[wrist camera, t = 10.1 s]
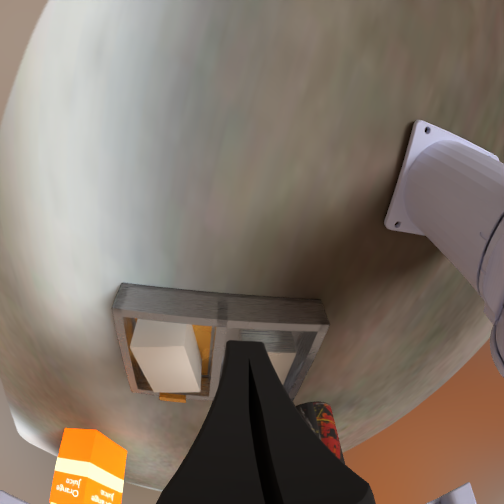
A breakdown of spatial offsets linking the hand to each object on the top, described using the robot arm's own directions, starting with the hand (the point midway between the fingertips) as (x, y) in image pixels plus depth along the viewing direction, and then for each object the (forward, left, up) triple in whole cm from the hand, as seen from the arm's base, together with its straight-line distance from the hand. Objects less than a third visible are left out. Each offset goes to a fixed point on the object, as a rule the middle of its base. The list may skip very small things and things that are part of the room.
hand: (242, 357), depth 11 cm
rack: (0, +10, -10) cm, 14 cm away
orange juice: (+19, +41, -10) cm, 46 cm away
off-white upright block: (+4, +10, -9) cm, 14 cm away
